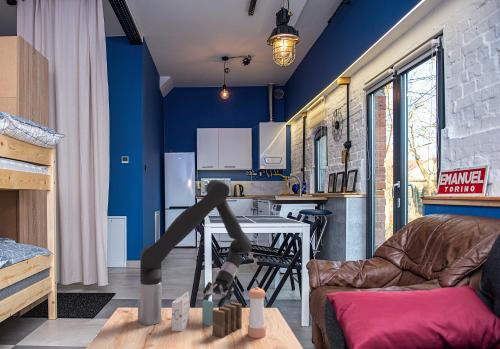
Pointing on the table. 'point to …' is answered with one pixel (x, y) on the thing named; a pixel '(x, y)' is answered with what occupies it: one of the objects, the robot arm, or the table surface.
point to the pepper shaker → (256, 313)
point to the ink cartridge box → (180, 313)
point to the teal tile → (207, 312)
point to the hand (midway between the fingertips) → (211, 305)
